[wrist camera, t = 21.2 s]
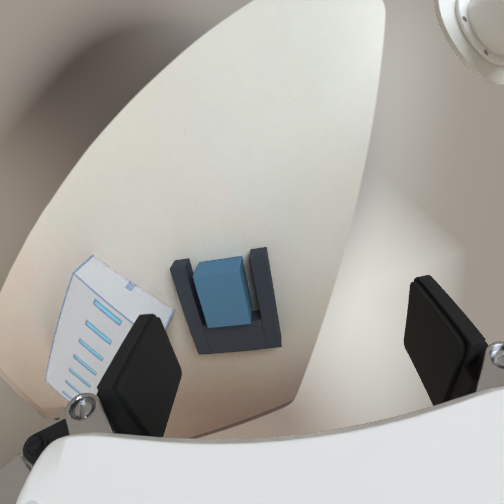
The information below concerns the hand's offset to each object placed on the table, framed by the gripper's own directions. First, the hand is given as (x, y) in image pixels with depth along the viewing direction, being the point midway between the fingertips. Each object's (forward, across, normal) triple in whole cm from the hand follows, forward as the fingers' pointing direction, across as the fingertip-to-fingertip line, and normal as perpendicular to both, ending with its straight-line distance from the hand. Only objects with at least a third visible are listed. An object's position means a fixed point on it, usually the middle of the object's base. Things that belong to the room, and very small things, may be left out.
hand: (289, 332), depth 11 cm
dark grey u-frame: (+26, +8, +14) cm, 31 cm away
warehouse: (+26, +32, +20) cm, 46 cm away
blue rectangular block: (+26, +8, +12) cm, 30 cm away
